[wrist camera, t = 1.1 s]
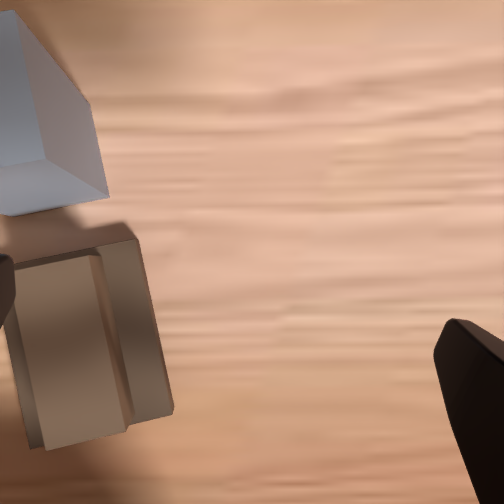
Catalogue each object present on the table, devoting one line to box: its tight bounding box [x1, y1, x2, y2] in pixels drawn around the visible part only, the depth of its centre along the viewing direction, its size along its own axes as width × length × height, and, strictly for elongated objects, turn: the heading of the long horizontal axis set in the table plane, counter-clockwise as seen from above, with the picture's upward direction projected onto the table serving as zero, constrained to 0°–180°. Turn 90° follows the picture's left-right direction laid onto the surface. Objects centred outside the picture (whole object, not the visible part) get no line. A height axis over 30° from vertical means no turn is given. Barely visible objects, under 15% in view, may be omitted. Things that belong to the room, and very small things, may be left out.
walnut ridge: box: [3, 239, 174, 451], centre depth 22 cm, size 9×7×4 cm
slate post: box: [0, 10, 110, 217], centre depth 19 cm, size 5×5×9 cm
